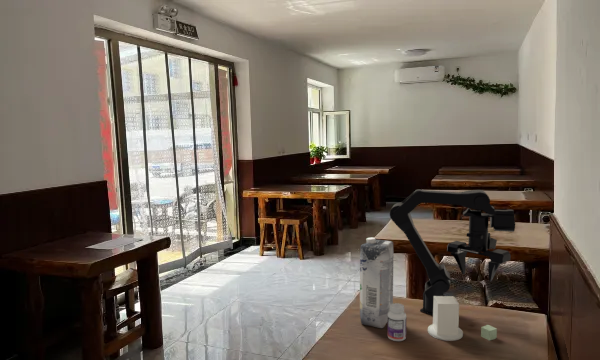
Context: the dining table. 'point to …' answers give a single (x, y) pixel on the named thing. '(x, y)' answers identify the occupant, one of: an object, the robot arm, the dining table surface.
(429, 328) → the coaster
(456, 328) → the cover
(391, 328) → the pill bottle
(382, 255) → the juice carton
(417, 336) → the dining table surface
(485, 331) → the block
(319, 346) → the dining table surface
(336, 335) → the dining table surface
